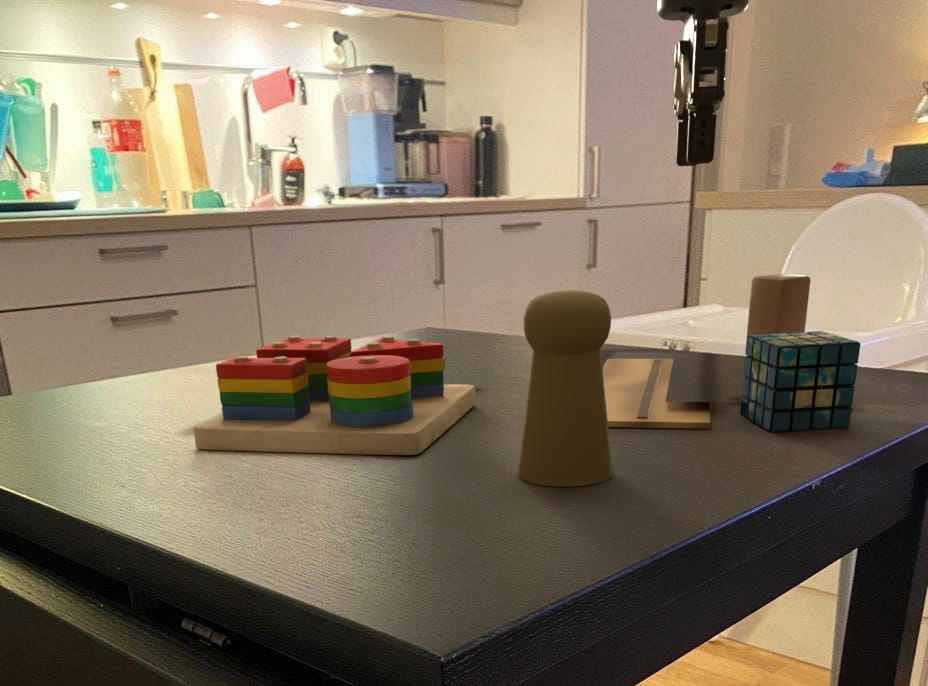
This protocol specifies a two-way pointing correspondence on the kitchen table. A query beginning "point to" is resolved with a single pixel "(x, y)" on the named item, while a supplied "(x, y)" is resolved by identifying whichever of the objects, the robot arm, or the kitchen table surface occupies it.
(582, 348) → the pepper shaker
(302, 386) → the shape sorter
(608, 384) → the tan wooden flat board
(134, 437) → the kitchen table surface
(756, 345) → the puzzle
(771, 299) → the wooden block
